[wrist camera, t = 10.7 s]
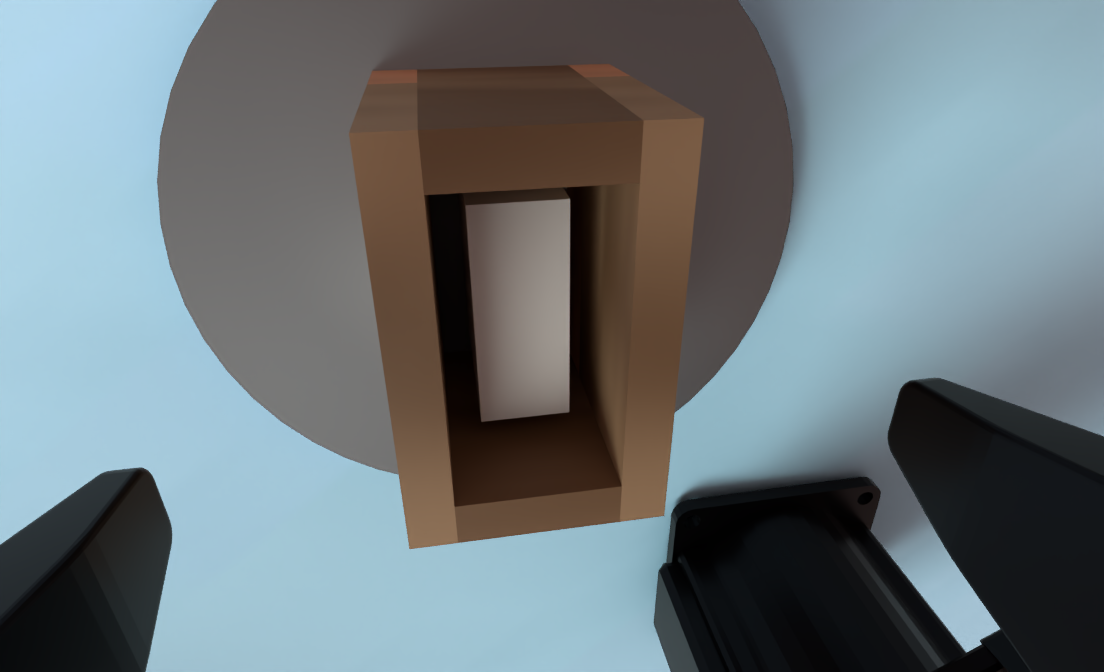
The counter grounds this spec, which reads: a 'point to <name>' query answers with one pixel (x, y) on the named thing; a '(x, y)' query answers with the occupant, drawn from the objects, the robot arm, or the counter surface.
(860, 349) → the counter surface
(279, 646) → the counter surface
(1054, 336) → the counter surface
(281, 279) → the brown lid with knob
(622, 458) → the walnut sleeve
